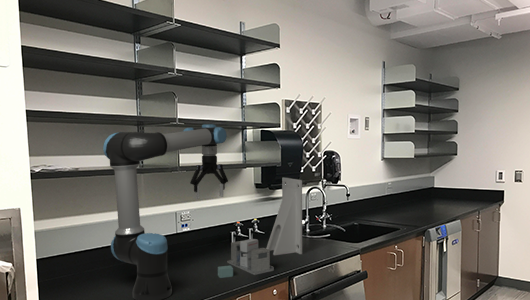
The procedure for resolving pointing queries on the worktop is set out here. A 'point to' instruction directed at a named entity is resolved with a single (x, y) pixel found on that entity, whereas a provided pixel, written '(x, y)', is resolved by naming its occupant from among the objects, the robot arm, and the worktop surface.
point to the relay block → (225, 271)
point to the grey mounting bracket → (288, 220)
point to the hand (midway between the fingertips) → (209, 197)
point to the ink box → (247, 251)
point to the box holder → (252, 259)
